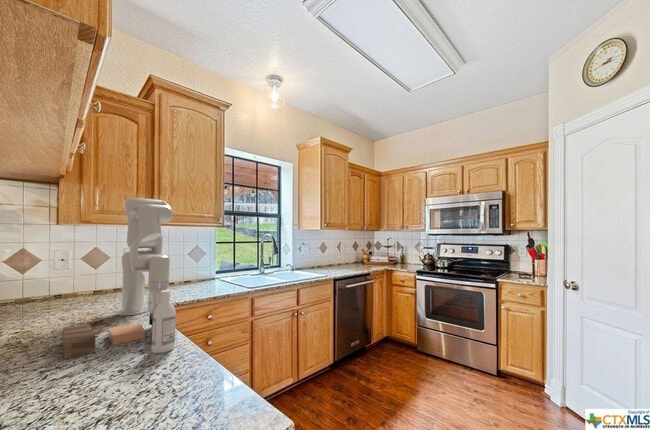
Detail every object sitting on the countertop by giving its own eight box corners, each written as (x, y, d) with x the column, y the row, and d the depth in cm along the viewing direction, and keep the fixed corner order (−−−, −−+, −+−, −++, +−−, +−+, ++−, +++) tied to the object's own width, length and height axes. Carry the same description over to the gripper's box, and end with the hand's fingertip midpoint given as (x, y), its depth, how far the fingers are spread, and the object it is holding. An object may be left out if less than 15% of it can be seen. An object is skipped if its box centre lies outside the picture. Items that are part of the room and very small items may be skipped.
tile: (108, 337, 110) (108, 328, 110) (138, 331, 116) (138, 322, 117) (112, 345, 101) (112, 335, 101) (144, 338, 108) (145, 329, 108)
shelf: (61, 343, 103) (62, 328, 103) (88, 337, 108) (89, 323, 108) (64, 358, 89) (65, 341, 90) (94, 351, 95) (95, 335, 95)
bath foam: (178, 345, 100) (180, 288, 102) (167, 353, 93) (170, 292, 95) (158, 345, 100) (161, 289, 101) (146, 353, 93) (149, 292, 94)
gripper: (143, 283, 121) (141, 324, 120) (154, 289, 109) (152, 334, 108) (162, 281, 126) (160, 320, 125) (175, 286, 114) (173, 329, 113)
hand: (156, 326), depth 116 cm, fingers open, 9 cm apart
